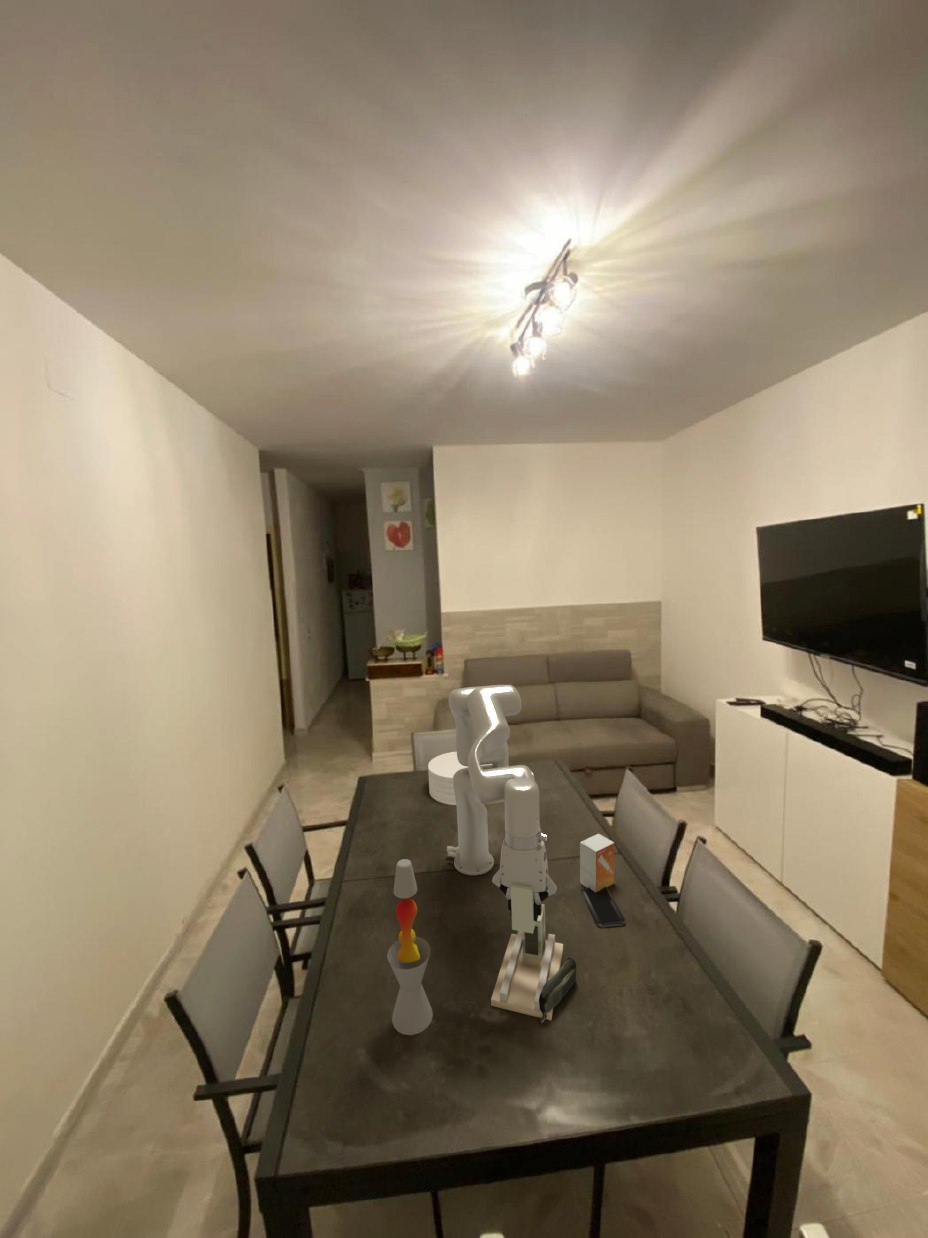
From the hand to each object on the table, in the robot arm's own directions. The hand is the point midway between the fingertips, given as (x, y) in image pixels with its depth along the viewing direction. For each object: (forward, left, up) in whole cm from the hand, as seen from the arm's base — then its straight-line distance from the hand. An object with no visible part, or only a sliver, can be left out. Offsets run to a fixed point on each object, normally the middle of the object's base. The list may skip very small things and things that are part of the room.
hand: (524, 914), depth 111 cm
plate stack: (-45, +91, -19) cm, 103 cm away
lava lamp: (-22, -13, -18) cm, 32 cm away
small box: (+13, +42, -18) cm, 47 cm away
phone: (+15, +32, -19) cm, 40 cm away
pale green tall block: (0, 0, -2) cm, 2 cm away
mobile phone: (+7, -1, -18) cm, 19 cm away
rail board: (0, +4, -18) cm, 18 cm away
